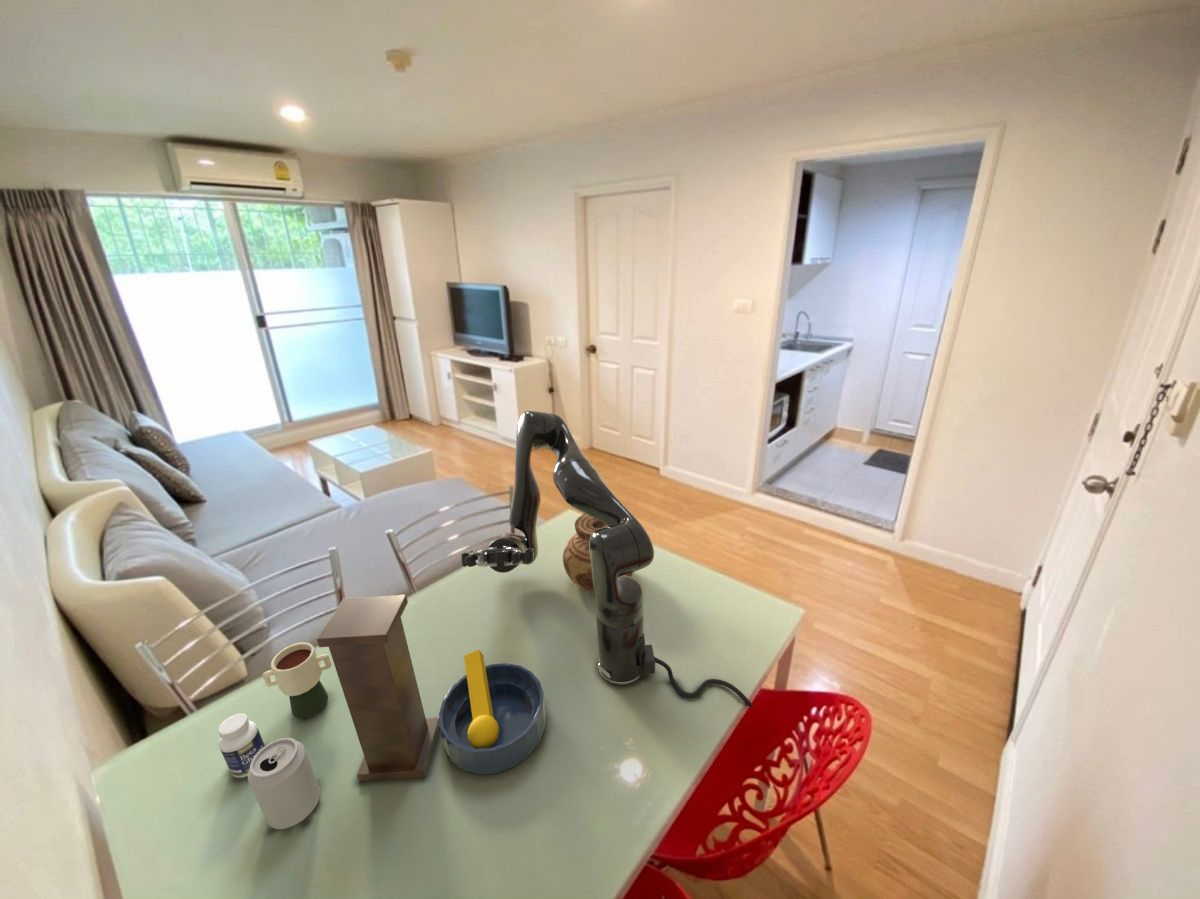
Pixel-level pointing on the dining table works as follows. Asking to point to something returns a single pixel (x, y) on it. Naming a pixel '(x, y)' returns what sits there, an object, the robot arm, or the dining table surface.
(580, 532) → the clay pot
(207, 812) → the dining table surface
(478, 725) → the yellow lever
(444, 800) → the dining table surface
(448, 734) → the bowl
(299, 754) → the can
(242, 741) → the pill bottle
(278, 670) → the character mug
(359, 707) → the stand
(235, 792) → the dining table surface
